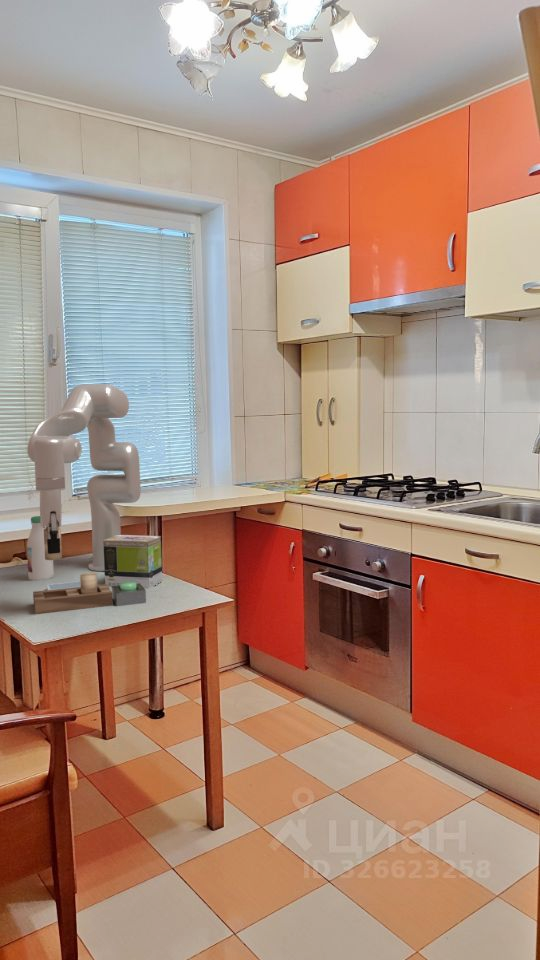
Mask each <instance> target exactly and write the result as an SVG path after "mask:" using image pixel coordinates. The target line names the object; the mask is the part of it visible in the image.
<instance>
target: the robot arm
mask: <svg viewBox="0 0 540 960" xmlns="http://www.w3.org/2000/svg"><path fill="white" fill-rule="evenodd" d="M129 409H130V401H129V399H128V396H127V394H126V393H125V392H124V391H123V390H121V389H120V388H118V387H115V386H113V385H110V384H107V383H106V384H105V383H104V384H102V383H101V384H98V383H96V384H79V385H77V386H74V387H73V388H72V389H71V390H70V393H69V394H68V396H67V398H66V400H65V402H64V404H63V406H62V408H61V410H60V411H59V412H57V413H55V414H53V415H51V416H49V417H47V418H46V419H44V420H43V421H41V422H40V423H39V424H37V426H35V428H34V430H33V432H32V434H31V436H30V437H29V440H28V443H27V449H26V450H27V455H28V458H29V460H30V461H32V462H34V477H35V478H34V479H35V480H34V481H35V491H38V492H39V513H40V514H39V516H40V523H41V526H42V527H43V528H45V526H46V529H48V539H47V547H48V554H54V553H60V538H59V528H60V527H62V491H63V490H66V477H65V464H73V463H75V462H77V461H78V460H79V459H80V457H81V456H82V444H81V442H80V440H79V439H77V438H76V437H74V436H73V435H76V434H79V433H81V432H83V431H85V429H86V428H87V431H88V432H87V433H88V443H89V444H88V445H89V458H90V459H89V460H90V466H91V467H92V468H93V470H96V471H100V472H123V474H97V475H94V476H92V477H90V479H89V480H88V482H87V485H86V491H87V495H88V500H89V507H90V514H91V515H90V517H91V541H92V543H91V544H92V562H91V563H89V564H88V569H89V570H90V571H95V572H105V571H104V547H103V540H105V539H108V538H111V537H113V536H116V535H122V534H121V533H122V531H121V530H122V529H121V527H122V526H121V515H120V512H119V510H118V509H117V507H116V506H115V505H114V504H133V503H136V502H137V501H139V500H140V497H141V491H142V489H141V472H140V471H141V468H140V455H139V450H138V448H137V446H136V445H135V444H134V443H132V442H117V440H116V433H115V426H114V423H113V422H112V421H111V419H122V418H124V417H126V416H127V414H128V412H129Z"/></svg>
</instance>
